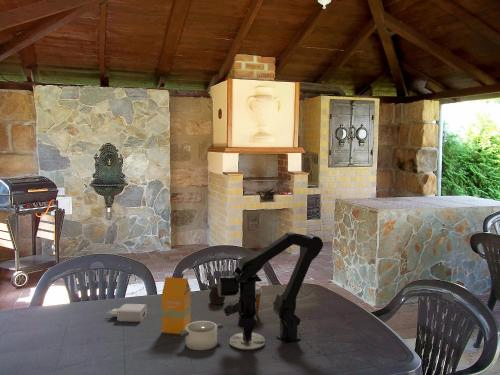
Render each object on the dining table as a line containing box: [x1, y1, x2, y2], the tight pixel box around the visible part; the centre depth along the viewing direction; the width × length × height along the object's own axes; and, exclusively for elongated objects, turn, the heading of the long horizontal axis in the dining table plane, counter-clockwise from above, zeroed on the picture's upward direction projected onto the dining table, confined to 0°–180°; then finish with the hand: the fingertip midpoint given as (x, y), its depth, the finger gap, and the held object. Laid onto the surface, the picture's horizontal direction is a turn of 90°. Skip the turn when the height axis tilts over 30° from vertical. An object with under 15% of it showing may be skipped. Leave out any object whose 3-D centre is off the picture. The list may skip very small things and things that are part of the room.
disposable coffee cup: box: [256, 283, 263, 317], centre depth 188 cm, size 10×10×12 cm
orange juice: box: [161, 276, 192, 335], centre depth 172 cm, size 8×9×20 cm
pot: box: [178, 320, 224, 351], centre depth 160 cm, size 11×16×6 cm
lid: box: [229, 327, 266, 351], centre depth 161 cm, size 12×12×6 cm
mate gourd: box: [208, 283, 226, 305], centre depth 202 cm, size 7×8×10 cm
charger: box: [106, 303, 148, 323], centre depth 184 cm, size 5×9×15 cm
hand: (247, 337), depth 161 cm, fingers closed on lid, 3 cm apart
